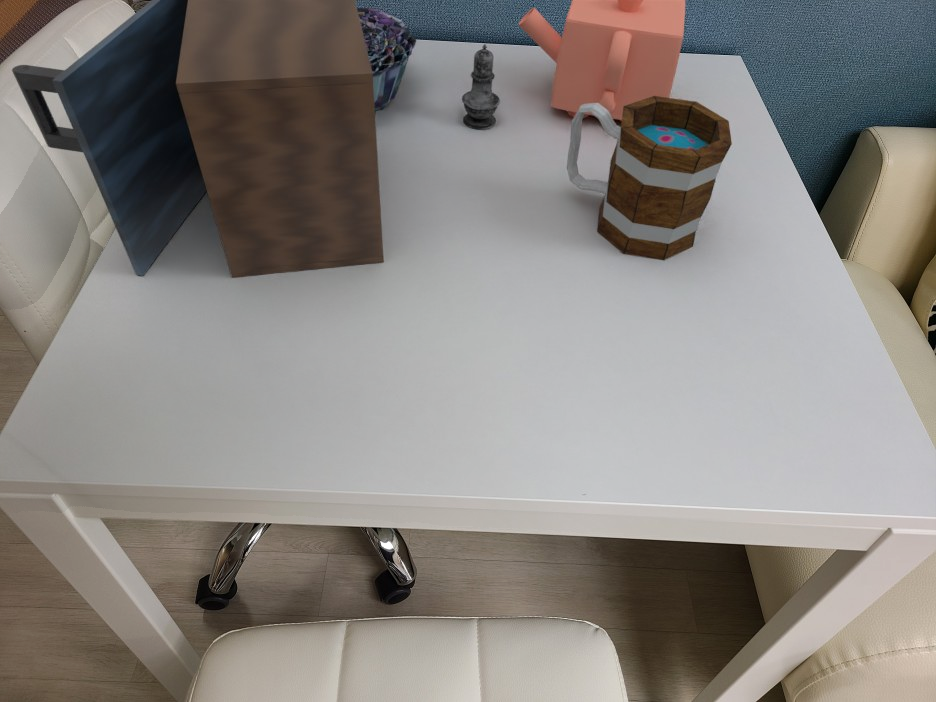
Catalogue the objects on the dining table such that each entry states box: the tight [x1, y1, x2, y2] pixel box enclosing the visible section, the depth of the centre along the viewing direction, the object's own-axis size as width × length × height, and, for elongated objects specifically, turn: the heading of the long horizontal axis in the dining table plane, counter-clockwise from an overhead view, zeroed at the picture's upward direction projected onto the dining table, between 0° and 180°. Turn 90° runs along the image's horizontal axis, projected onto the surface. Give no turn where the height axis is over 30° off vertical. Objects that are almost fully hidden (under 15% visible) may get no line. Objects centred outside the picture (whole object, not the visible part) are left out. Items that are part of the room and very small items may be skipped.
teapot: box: [518, 0, 686, 123], centre depth 105 cm, size 25×23×18 cm
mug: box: [566, 96, 733, 261], centre depth 85 cm, size 20×14×15 cm
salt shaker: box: [461, 43, 501, 131], centre depth 101 cm, size 6×6×12 cm
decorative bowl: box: [357, 7, 417, 111], centre depth 106 cm, size 26×28×10 cm
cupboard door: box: [11, 0, 207, 277], centre depth 79 cm, size 7×26×24 cm, turn 170°
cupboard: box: [176, 0, 385, 278], centre depth 80 cm, size 18×26×24 cm
